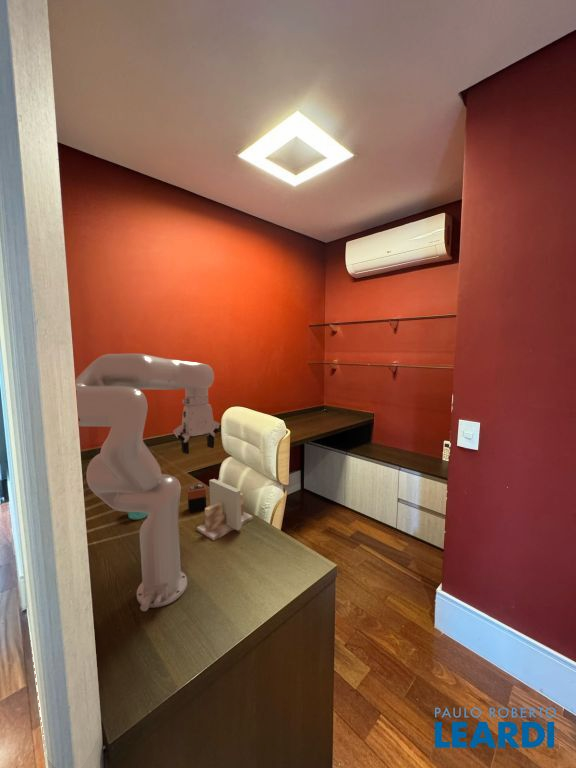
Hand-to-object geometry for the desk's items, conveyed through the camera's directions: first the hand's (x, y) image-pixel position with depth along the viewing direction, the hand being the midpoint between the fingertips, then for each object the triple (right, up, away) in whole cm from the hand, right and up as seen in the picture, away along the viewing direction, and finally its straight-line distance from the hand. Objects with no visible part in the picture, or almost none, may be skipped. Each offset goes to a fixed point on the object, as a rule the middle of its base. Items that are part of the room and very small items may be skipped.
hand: (198, 450), depth 108 cm
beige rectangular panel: (+8, -28, +7) cm, 30 cm away
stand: (+8, -29, +7) cm, 31 cm away
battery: (-6, -29, +19) cm, 35 cm away
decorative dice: (-28, -29, +15) cm, 43 cm away
